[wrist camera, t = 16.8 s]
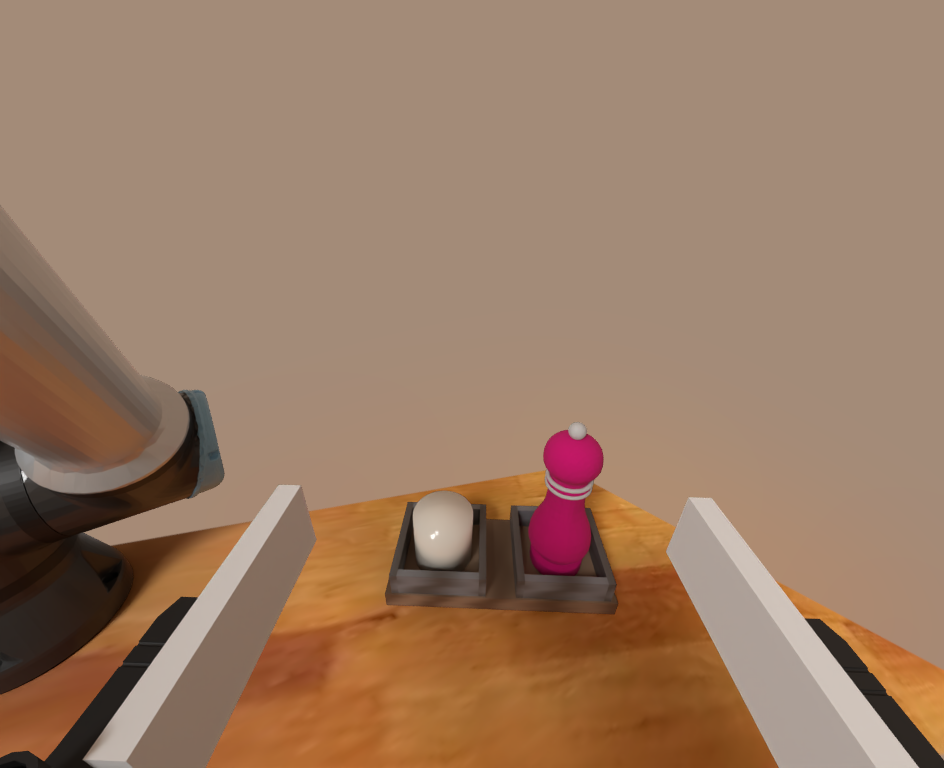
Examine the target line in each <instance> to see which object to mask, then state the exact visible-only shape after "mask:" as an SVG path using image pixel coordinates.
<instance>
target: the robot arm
mask: <svg viewBox="0 0 944 768" xmlns="http://www.w3.org/2000/svg"><path fill="white" fill-rule="evenodd" d="M223 478H224V469H223V464H222V460H221V456H220V452H219V447H218V443H217V438H216V434H215V430H214V426H213V421H212V417H211V413H210V410H209V405H208V402H207V398H206V395H205V393H204V392H202V391H199V390H192V391H188V390H182V391H179V392H177V391H176V390H175V389H174V388H172V387H170V386H169V385H167V384H165V383H163V382H162V381H159V380H156V379H154V378H151V377H146V376H142V375H139V373H138V372H137V371H136V370H135V369H134V367H133V366H132V365H131V364H130V362H129V361H128V360H127V359H126V358H125V356H124V355H123V354H122V353H121V351H120V350H119V349H118V348H117V347H116V345H115V344H114V343H113V342H112V340H110V338H109V337H108V336H107V334H106V333H105V332H104V331H103V330H102V328H101V327H100V326H99V325H98V323H97V322H96V321H95V320H94V319H93V317H92V316H91V315H90V314H89V313H88V311H87V310H86V309H85V308H84V306H83V305H82V304H81V303H80V302H79V300H78V299H77V298H76V297H75V296H74V294H73V293H72V292H71V291H70V289H69V288H68V287H67V286H66V285H65V283H64V282H63V281H62V280H61V278H60V277H59V276H58V275H57V274H56V272H55V271H54V270H53V269H52V267H51V266H50V265H49V264H48V263H47V261H46V260H45V259H44V258H43V257H42V255H41V254H40V253H39V252H38V250H37V249H36V248H35V247H34V246H33V244H32V243H31V242H30V241H29V240H28V238H27V237H26V236H25V235H24V234H23V232H22V231H21V230H20V229H19V227H18V226H17V225H16V224H15V223H14V221H13V220H12V219H11V218H10V217H9V215H8V214H7V213H6V212H5V210H4V209H3V208H2V207H1V206H0V694H2V693H5V692H7V691H9V690H12V689H14V688H16V687H18V686H20V685H22V684H24V683H26V682H28V681H30V680H32V679H34V678H36V677H37V676H39V675H41V674H43V673H44V672H46V671H48V670H49V669H51V668H52V667H54V666H55V665H57V664H59V663H60V662H61V661H63V660H64V659H66V658H67V657H69V656H70V655H71V654H73V653H74V652H75V651H77V650H78V649H79V648H80V647H82V646H83V645H84V644H85V643H86V642H88V641H89V640H90V639H91V638H92V637H93V636H94V635H95V634H97V633H98V632H99V631H100V630H101V629H102V628H103V627H104V626H105V625H106V624H107V623H108V621H109V620H110V619H111V618H112V617H113V616H114V615H115V613H116V612H117V611H118V609H119V608H120V607H121V605H122V604H123V602H124V601H125V599H126V597H127V595H128V593H129V591H130V589H131V586H132V582H133V570H132V567H131V565H130V564H129V562H128V561H127V559H126V558H125V556H124V555H123V554H122V553H121V552H120V551H119V550H117V549H116V548H114V547H112V546H109V545H107V544H105V543H103V542H101V541H99V540H97V539H95V538H93V537H91V536H89V535H87V534H85V533H83V532H86V531H89V530H92V529H95V528H98V527H101V526H104V525H107V524H110V523H113V522H116V521H119V520H122V519H125V518H128V517H131V516H134V515H137V514H140V513H143V512H146V511H149V510H152V509H155V508H158V507H161V506H163V505H167V504H169V503H173V502H175V501H179V500H182V499H185V498H187V499H189V498H193V497H195V496H196V495H197V494H199V493H201V492H204V491H207V490H209V489H212V488H214V487H216V486H218V485H219V484H220V483H221V482H222V480H223ZM315 542H316V537H315V533H314V530H313V526H312V523H311V519H310V516H309V512H308V508H307V505H306V501H305V498H304V495H303V491H302V487H301V485H278V486H277V488H276V489H275V491H274V492H273V494H272V495H271V496H270V498H269V499H268V501H267V502H266V503H265V505H264V506H263V507H262V509H261V510H260V512H259V513H258V514H257V516H256V517H255V519H254V520H253V521H252V523H251V524H250V526H249V527H248V528H247V530H246V531H245V533H244V534H243V535H242V537H241V538H240V540H239V541H238V542H237V544H236V545H235V547H234V548H233V549H232V551H231V552H230V554H229V555H228V556H227V558H226V559H225V561H224V562H223V563H222V565H221V566H220V568H219V569H218V570H217V572H216V573H215V575H214V576H213V577H212V579H211V580H210V582H209V583H208V585H207V586H206V587H205V589H204V590H203V592H202V593H201V594H200V596H199V597H181V598H179V599H178V600H177V601H176V602H175V603H174V604H172V605H171V606H170V607H169V608H168V609H167V610H165V611H164V612H163V613H162V614H161V615H160V616H158V617H157V619H156V620H155V621H154V623H153V624H152V625H151V626H150V628H149V629H148V630H147V632H146V633H145V634H144V635H143V637H142V638H141V639H140V641H139V644H138V645H137V646H135V647H134V648H133V650H132V651H131V652H130V653H129V655H128V656H127V657H126V659H125V660H124V661H123V665H122V666H121V667H119V668H118V669H117V670H116V671H115V673H114V674H113V675H112V677H111V678H110V679H109V680H108V682H107V683H106V684H105V686H104V687H103V688H102V689H101V691H100V692H99V693H98V695H97V696H96V697H95V698H94V700H93V701H92V702H91V704H90V705H89V706H88V708H87V709H86V710H85V711H84V713H83V714H82V715H81V717H80V718H79V719H78V720H77V722H76V723H75V724H74V726H73V727H72V728H71V729H70V731H69V732H68V733H67V735H66V736H65V737H64V738H63V740H62V741H61V742H60V744H59V745H58V746H57V747H56V749H55V750H54V751H53V752H52V753H51V754H50V755H49V757H48V758H47V759H46V760H45V761H42V760H41V759H39V758H38V757H36V756H35V755H34V754H32V753H31V752H29V751H22V752H12V753H10V754H8V755H5V756H3V757H1V758H0V768H206V766H207V764H208V762H209V759H210V757H211V755H212V753H213V751H214V749H215V747H216V745H217V743H218V741H219V739H220V737H221V735H222V733H223V731H224V729H225V727H226V725H227V723H228V720H229V718H230V716H231V714H232V712H233V710H234V708H235V706H236V704H237V702H238V700H239V698H240V696H241V694H242V692H243V690H244V688H245V686H246V683H247V681H248V679H249V677H250V675H251V673H252V671H253V669H254V667H255V665H256V663H257V661H258V659H259V657H260V655H261V653H262V651H263V649H264V647H265V644H266V642H267V640H268V638H269V636H270V634H271V632H272V630H273V628H274V626H275V624H276V622H277V620H278V618H279V616H280V614H281V612H282V610H283V607H284V605H285V603H286V601H287V599H288V597H289V595H290V593H291V591H292V589H293V587H294V585H295V583H296V581H297V579H298V577H299V575H300V573H301V571H302V568H303V566H304V564H305V562H306V560H307V558H308V556H309V554H310V552H311V550H312V548H313V546H314V544H315ZM666 553H667V554H668V556H669V558H670V560H671V562H672V564H673V566H674V568H675V570H676V572H677V574H678V576H679V577H680V579H681V581H682V583H683V585H684V587H685V589H686V591H687V593H688V595H689V597H690V598H691V600H692V602H693V604H694V606H695V608H696V610H697V612H698V614H699V616H700V618H701V620H702V621H703V623H704V625H705V627H706V629H707V631H708V633H709V635H710V637H711V639H712V641H713V642H714V644H715V646H716V648H717V650H718V652H719V654H720V656H721V658H722V660H723V662H724V664H725V665H726V667H727V669H728V671H729V673H730V675H731V677H732V679H733V681H734V683H735V685H736V686H737V688H738V690H739V692H740V694H741V696H742V698H743V700H744V702H745V704H746V706H747V708H748V709H749V711H750V713H751V715H752V717H753V719H754V721H755V723H756V725H757V727H758V729H759V730H760V732H761V734H762V736H763V738H764V740H765V742H766V744H767V746H768V748H769V750H770V752H771V753H772V755H773V757H774V759H775V761H776V763H777V765H778V767H779V768H944V760H943V759H942V758H941V756H940V755H939V754H938V753H937V751H936V750H935V749H934V748H933V747H932V745H931V744H930V743H929V742H928V741H927V739H926V738H925V737H924V736H923V734H922V733H921V732H920V731H919V730H918V728H917V727H916V726H915V725H914V724H913V722H912V721H911V720H910V719H909V717H908V716H907V715H906V714H905V713H904V711H903V710H902V709H901V708H900V707H899V705H898V704H897V703H896V702H895V700H894V699H893V698H892V697H891V696H888V695H887V693H886V690H885V688H884V687H883V686H882V685H881V683H880V682H879V681H878V680H877V679H876V677H875V676H874V675H873V674H872V673H870V672H869V671H868V668H867V666H866V665H865V664H864V663H863V662H862V660H861V659H860V658H859V657H858V656H857V654H856V653H855V652H854V651H853V649H852V648H851V647H850V646H849V645H848V643H847V642H846V641H845V640H844V639H842V638H841V637H840V636H839V635H838V634H837V633H835V632H834V631H833V630H832V629H831V628H830V627H828V626H827V625H826V624H825V623H824V622H823V621H821V620H820V619H806V618H803V616H802V615H801V614H800V612H799V611H798V610H797V608H796V607H795V606H794V605H793V603H792V602H791V601H790V599H789V598H788V597H787V595H786V594H785V593H784V592H783V590H782V589H781V588H780V586H779V585H778V584H777V582H776V581H775V580H774V579H773V577H772V576H771V575H770V573H769V572H768V571H767V570H766V568H765V567H764V566H763V564H762V563H761V562H760V560H759V559H758V558H757V557H756V555H755V554H754V553H753V551H752V550H751V549H750V547H749V546H748V545H747V543H746V542H745V541H744V540H743V538H742V537H741V536H740V534H739V533H738V532H737V530H736V529H735V528H734V527H733V525H732V524H731V523H730V521H729V520H728V519H727V517H726V516H725V515H724V514H723V512H722V511H721V510H720V508H719V507H718V506H717V504H716V503H715V502H714V501H713V500H712V498H691V497H689V498H688V500H687V503H686V505H685V507H684V510H683V512H682V515H681V517H680V519H679V522H678V524H677V527H676V529H675V531H674V534H673V536H672V539H671V541H670V543H669V546H668V548H667V550H666Z"/></svg>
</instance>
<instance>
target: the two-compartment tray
mask: <svg viewBox="0 0 944 768" xmlns="http://www.w3.org/2000/svg"><path fill="white" fill-rule="evenodd" d="M417 503H418V502H408V504H407V508H406V512H405V516H404V519H403V523H402V527H401V531H400V535H399V539H398V543H397V547H396V551H395V555H394V558H393V562H392V566H391V570H390V574H389V580H388V584H387V588H386V592H385V597H386V603H387V605H404V606H428V607H452V608H476V609H501V610H525V611H549V612H574V613H598V614H615V611H616V608H617V605H618V602H617V599H616V596H615V593H614V591H615V588H616V585H617V584H616V582H615V579H614V576H613V573H612V570H611V567H610V564H609V561H608V558H607V555H606V553H605V550H604V547H603V544H602V541H601V538H600V535H599V532H598V529H597V526H596V523H595V521H594V518H593V515H592V512H591V509H590V508H585V512H586V515H587V518H588V521H589V524H590V530H591V542H590V548H589V550H588V552H587V554H586V555H585V556H584V557H583V558H582V562H581V566H580V569H579V571H578V573H577V574H576V575H575V576H556V575H542V574H541V573H540V572H538V571H537V569H536V568H535V567H534V565H533V564H532V562H531V559H530V545H531V542H530V539H529V533H528V528H529V524H530V520H531V517H532V515H533V513H534V512H535V510H536V509H537V508H538V507H539V506H511V513H510V520H494V519H486V505H481V504H471V506H472V509H473V529H472V550H471V559H470V562H469V564H468V566H467V567H466V568H465V569H464V570H463V571H462V572H453V571H428V570H421V569H420V568H419V566H418V564H417V562H416V556H415V542H414V527H413V511H414V508H415V506H416V504H417Z"/></svg>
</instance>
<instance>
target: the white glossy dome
mask: <svg viewBox="0 0 944 768" xmlns="http://www.w3.org/2000/svg"><path fill="white" fill-rule="evenodd" d="M413 527H414V542H415V556H416V562H417V564H418V566H419V568H420V569H421V570H428V571H453V572H462V571H463V570H464V569H465V568H466V567H467V566H468V564H469V562H470V559H471V550H472V529H473V509H472V506H471V504H470V503H469V501H468V500H467V499H466V498H465V497H463V496H462V495H460V494H458V493H455V492H451V491H437V492H433V493H430V494H428V495H426V496H425V497H423V498H422V499H421V500H420V501H419V502H418V503H417V504H416V506H415V508H414V511H413Z"/></svg>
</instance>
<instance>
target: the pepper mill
mask: <svg viewBox="0 0 944 768" xmlns="http://www.w3.org/2000/svg"><path fill="white" fill-rule="evenodd" d="M543 457H544V463H545V466H546V468H547V469H546V476H545V483H546V486H547V488H548V490H547V494H546V497H545V499H544V501H543V502H542V503H541V504H540V505H539V507H538V508H537V509H536V510H535V512H534V513H533V515H532V517H531V520H530V524H529V528H528V533H529V539H530V542H531V545H530V559H531V562H532V564H533V565H534V567H535V568H536V569H537V571H538V572H540V573H541V574H542V575H556V576H575V575H576V574H577V573H578V571H579V569H580V566H581V562H582V558H583V557H584V556H585V555H586V554H587V552H588V550H589V548H590V542H591V530H590V524H589V521H588V518H587V515H586V512H585V498H586V497H587V496H589V495H590V493H591V492H592V486H593V483H594V479H595V478H596V477H597V476H598V475H599V474H600V473H601V470H602V467H603V452H602V449H601V447H600V445H599V444H598V442H597V441H596V440H595V439H594V438H593V437H592V436H590V435H588V434H587V429H586V427H585V425H583V424H582V423H580V422H575V423H572V424H571V425H570V427H569V429H568V430H564V431H560V432H558V433H556V434H554V435H553V436H552V437H551V438H550V439H549V440H548V442H547V444H546V446H545V448H544V455H543Z"/></svg>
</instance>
